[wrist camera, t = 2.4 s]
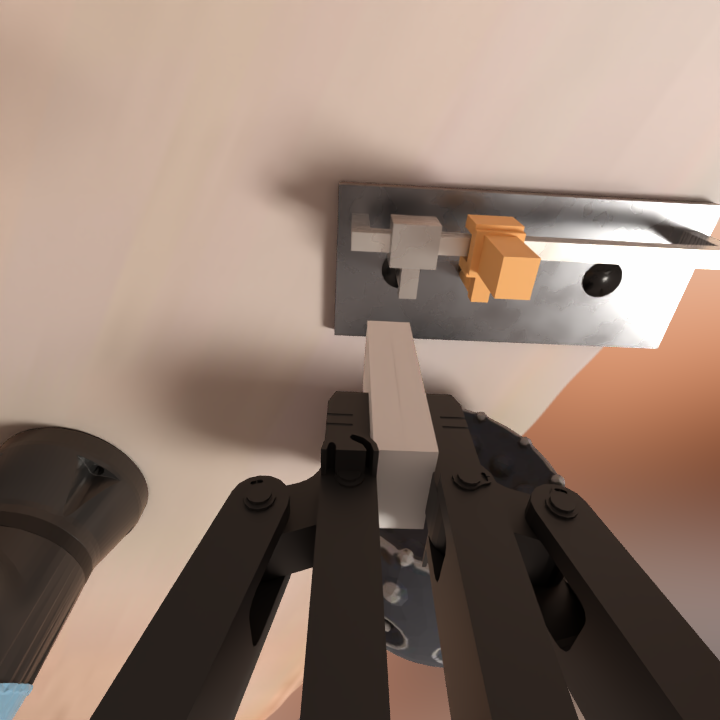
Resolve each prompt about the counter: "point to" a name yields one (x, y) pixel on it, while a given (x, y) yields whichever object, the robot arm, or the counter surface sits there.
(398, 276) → the grey slide rail
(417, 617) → the studded round pot
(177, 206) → the counter surface
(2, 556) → the robot arm
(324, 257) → the counter surface
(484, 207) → the bolt plate
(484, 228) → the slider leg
